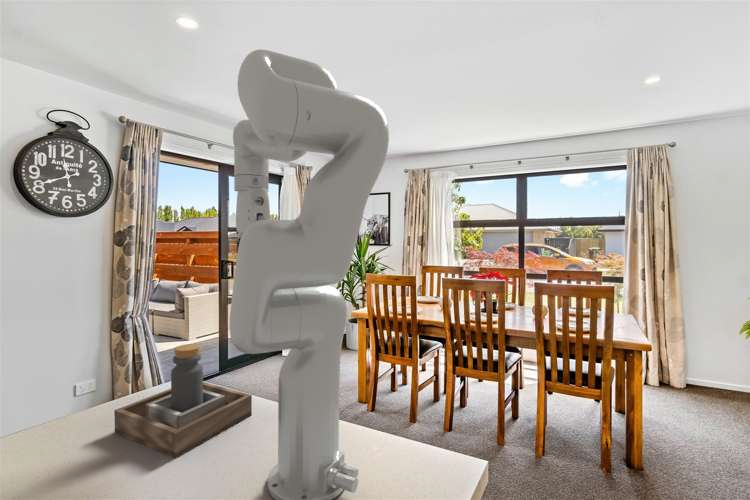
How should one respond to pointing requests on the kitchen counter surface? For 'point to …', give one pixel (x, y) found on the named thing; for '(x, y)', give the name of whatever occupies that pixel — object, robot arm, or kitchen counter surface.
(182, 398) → the bottle
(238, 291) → the robot arm
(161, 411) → the walled box
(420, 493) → the kitchen counter surface
